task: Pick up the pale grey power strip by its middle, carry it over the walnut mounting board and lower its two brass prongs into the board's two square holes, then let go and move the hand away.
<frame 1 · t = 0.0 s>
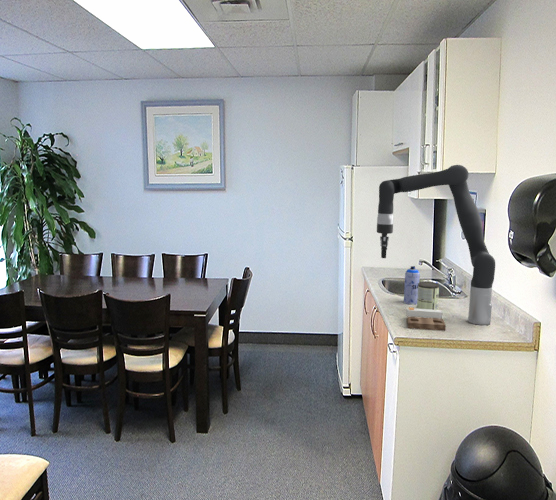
hand: (383, 256, 231), 29 cm above the counter, tool pointing down, fingers open, 8 cm apart
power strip: (423, 320, 229), on the counter
coffee can: (426, 311, 245), on the counter
mounting board: (425, 326, 220), on the counter
aerosol can: (410, 303, 260), on the counter
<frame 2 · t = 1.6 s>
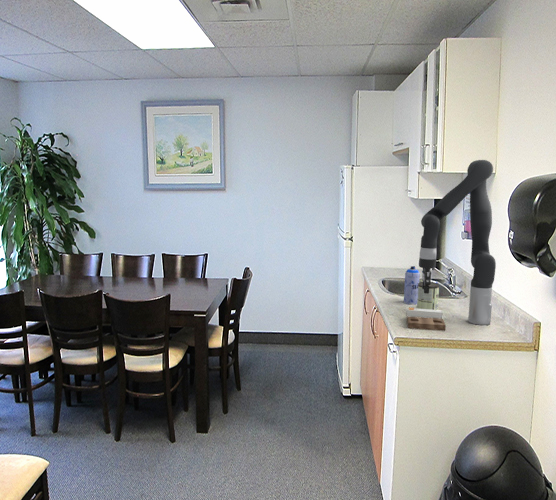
hand: (425, 291, 227), 14 cm above the counter, tool pointing down, fingers open, 8 cm apart
nothing on the counter moved.
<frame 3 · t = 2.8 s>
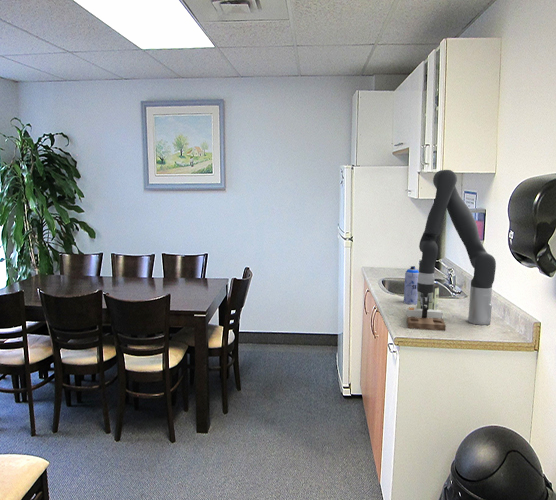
hand: (423, 315, 228), 2 cm above the counter, tool pointing down, fingers open, 8 cm apart
nothing on the counter moved.
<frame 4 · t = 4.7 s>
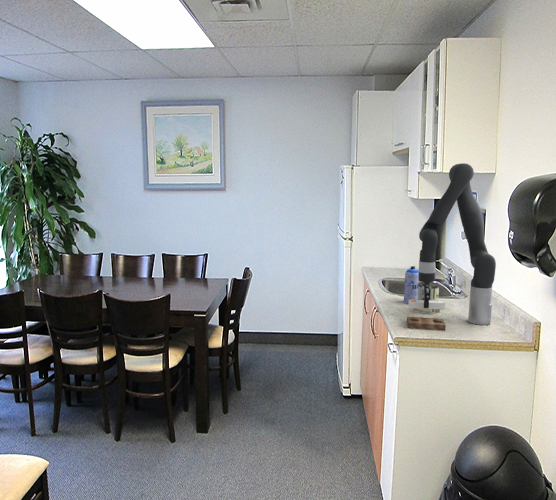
hand: (425, 306, 227), 7 cm above the counter, tool pointing down, fingers closed on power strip, 4 cm apart
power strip: (426, 311, 228), point 4 cm above the counter, touching gripper
everything else where it was.
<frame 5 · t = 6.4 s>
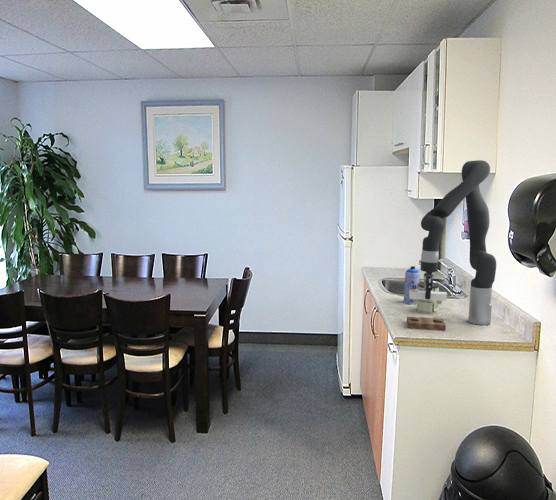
hand: (427, 297, 218), 13 cm above the counter, tool pointing down, fingers closed on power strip, 4 cm apart
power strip: (427, 302, 218), point 11 cm above the counter, touching gripper
everything else where it was.
when the fingers open (3 cm above the counter, at t = 8.6 s): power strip stays where it is, resting on mounting board.
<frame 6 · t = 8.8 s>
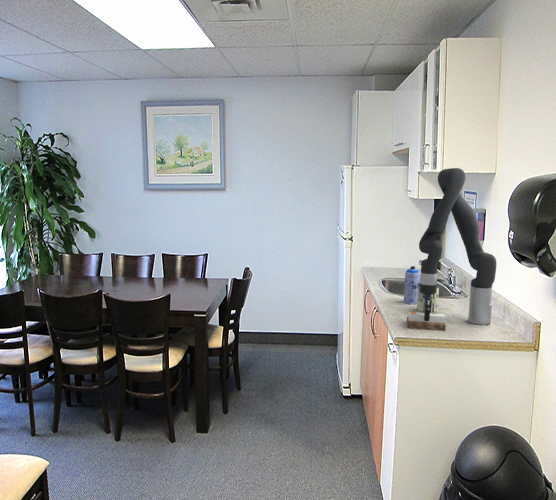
hand: (426, 318, 219), 4 cm above the counter, tool pointing down, fingers open, 5 cm apart
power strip: (426, 325, 220), resting on mounting board
everything else where it was.
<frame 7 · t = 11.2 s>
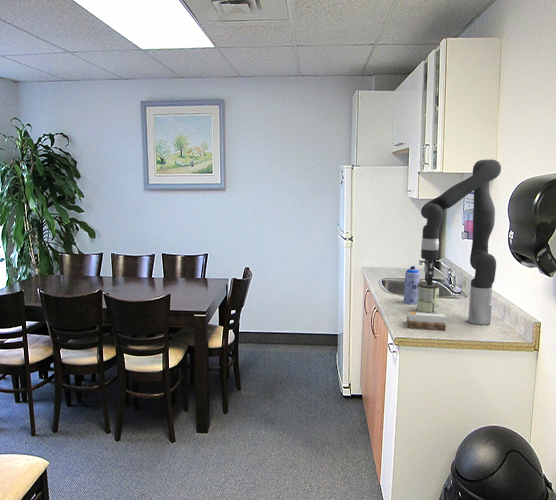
hand: (428, 283, 220), 19 cm above the counter, tool pointing down, fingers open, 8 cm apart
nothing on the counter moved.
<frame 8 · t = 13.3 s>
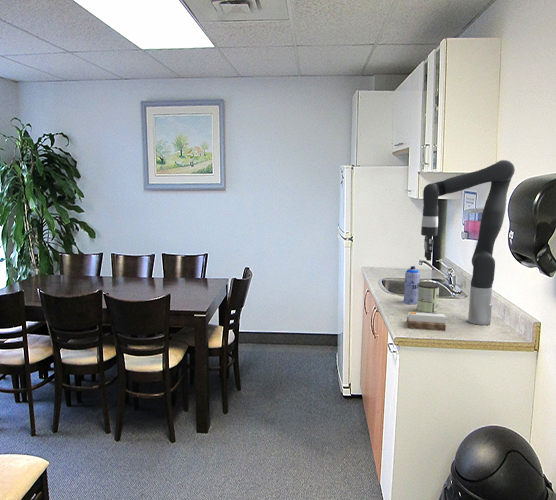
hand: (427, 259, 233), 28 cm above the counter, tool pointing down, fingers open, 8 cm apart
nothing on the counter moved.
at the end: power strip 0.2 cm off-centre on the mounting board, point 0.5 cm above the mounting board's base; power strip tilted 0°; the gripper is holding nothing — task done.
